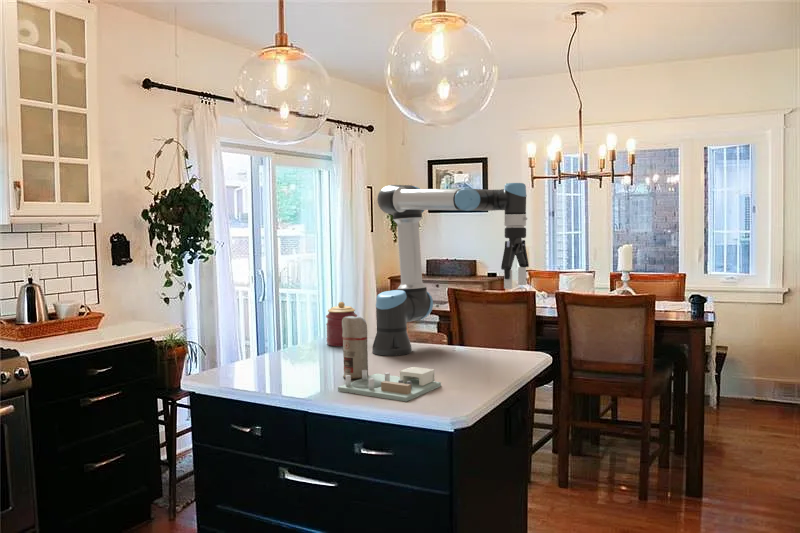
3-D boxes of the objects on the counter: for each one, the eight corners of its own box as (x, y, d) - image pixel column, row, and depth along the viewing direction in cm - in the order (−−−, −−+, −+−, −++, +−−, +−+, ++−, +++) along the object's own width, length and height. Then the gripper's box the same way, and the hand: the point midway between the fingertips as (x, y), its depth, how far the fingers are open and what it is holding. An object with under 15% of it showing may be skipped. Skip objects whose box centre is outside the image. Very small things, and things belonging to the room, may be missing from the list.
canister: (323, 342, 277) (322, 300, 276) (352, 340, 281) (352, 299, 280) (330, 347, 265) (329, 304, 264) (361, 345, 269) (360, 302, 268)
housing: (400, 382, 199) (399, 371, 199) (412, 377, 205) (411, 366, 205) (422, 385, 195) (422, 374, 195) (434, 380, 201) (434, 369, 201)
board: (338, 390, 196) (337, 377, 196) (376, 377, 213) (375, 364, 213) (406, 401, 183) (406, 386, 183) (441, 386, 200) (440, 372, 200)
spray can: (339, 375, 216) (338, 315, 215) (362, 373, 219) (361, 313, 218) (348, 381, 208) (346, 318, 207) (372, 378, 212) (371, 316, 210)
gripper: (512, 227, 219) (512, 290, 221) (537, 226, 241) (537, 284, 242) (491, 227, 223) (491, 289, 225) (518, 226, 245) (517, 283, 246)
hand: (515, 286), depth 234 cm, fingers open, 13 cm apart
